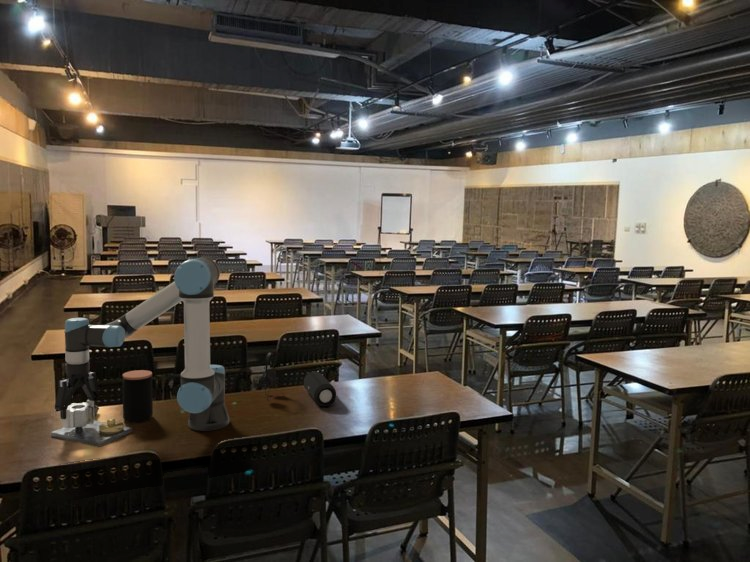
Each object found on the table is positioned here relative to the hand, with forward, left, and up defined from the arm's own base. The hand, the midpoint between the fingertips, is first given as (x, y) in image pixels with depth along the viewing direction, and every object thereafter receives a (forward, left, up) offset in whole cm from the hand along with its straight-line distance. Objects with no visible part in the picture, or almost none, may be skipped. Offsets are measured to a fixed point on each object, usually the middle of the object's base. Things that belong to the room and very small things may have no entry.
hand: (78, 422), depth 200 cm
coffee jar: (-7, -21, -5) cm, 23 cm away
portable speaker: (-59, -74, -5) cm, 95 cm away
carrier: (-4, -2, -4) cm, 6 cm away
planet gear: (0, 0, 0) cm, 0 cm away
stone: (+12, -14, -5) cm, 19 cm away
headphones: (-40, -67, -5) cm, 78 cm away
